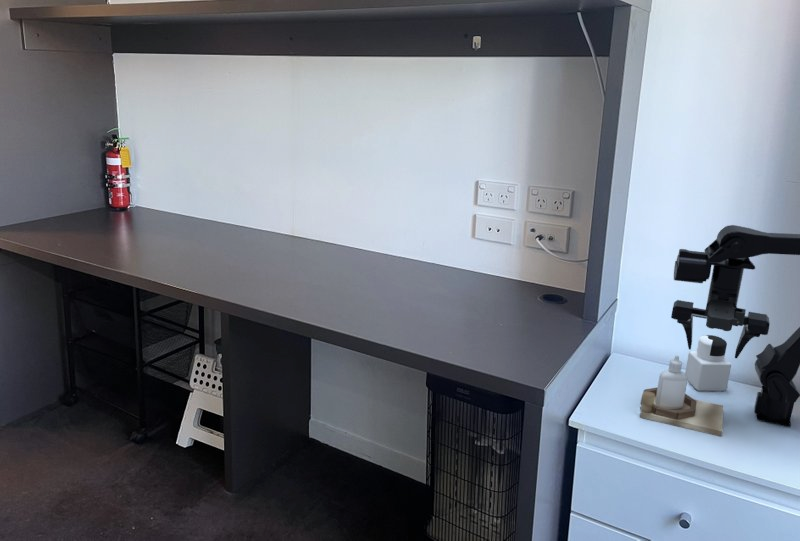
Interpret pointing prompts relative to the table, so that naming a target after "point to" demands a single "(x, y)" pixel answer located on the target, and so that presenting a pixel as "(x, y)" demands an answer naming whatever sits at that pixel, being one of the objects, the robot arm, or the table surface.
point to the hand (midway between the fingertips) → (712, 353)
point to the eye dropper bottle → (671, 386)
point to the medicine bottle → (708, 365)
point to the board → (699, 421)
